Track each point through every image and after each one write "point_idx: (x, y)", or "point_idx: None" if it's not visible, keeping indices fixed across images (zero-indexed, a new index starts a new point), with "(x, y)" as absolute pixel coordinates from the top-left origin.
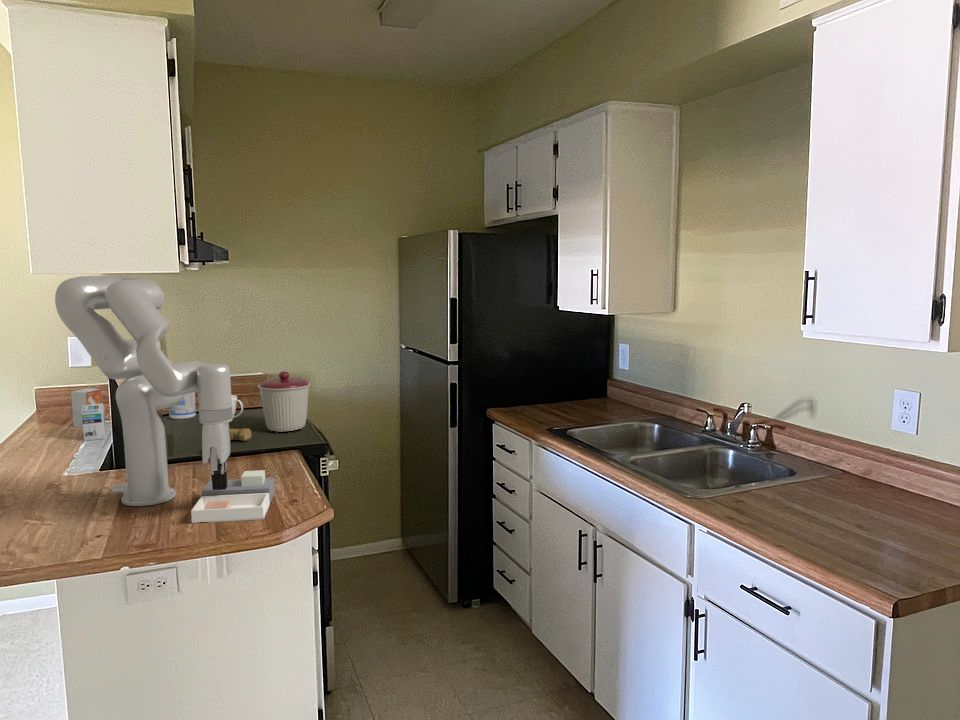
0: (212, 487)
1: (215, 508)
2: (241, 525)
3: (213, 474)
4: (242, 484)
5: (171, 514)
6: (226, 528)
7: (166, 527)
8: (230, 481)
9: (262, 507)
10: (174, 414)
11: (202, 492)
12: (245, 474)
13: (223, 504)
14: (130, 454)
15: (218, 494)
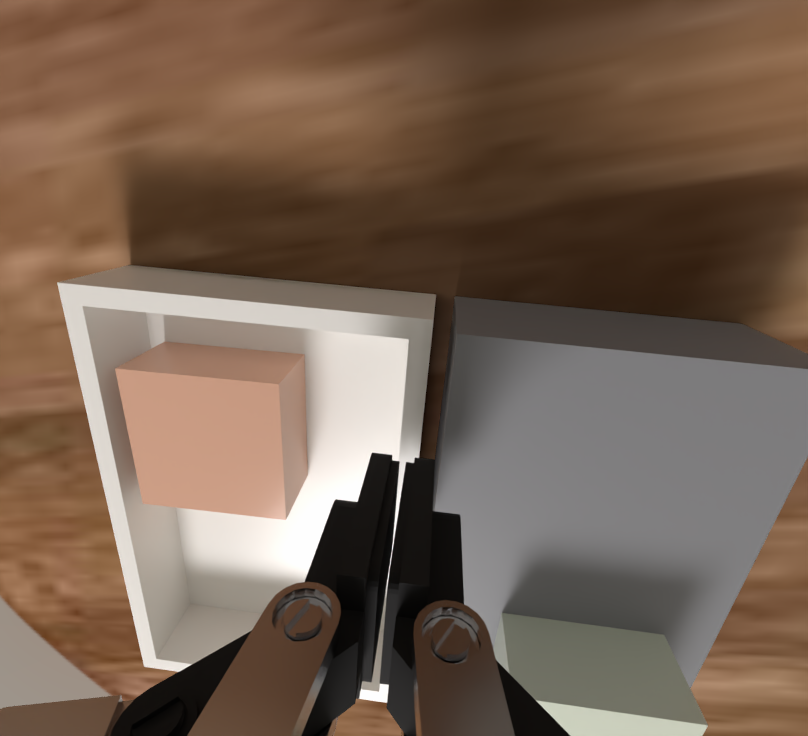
0: (369, 462)
1: (131, 443)
2: (106, 521)
3: (293, 599)
4: (501, 632)
5: (340, 58)
6: (61, 459)
7: (50, 85)
8: (693, 545)
9: (144, 662)
10: None
11: (458, 336)
12: (579, 724)
13: (208, 487)
14: None
15: (440, 449)
